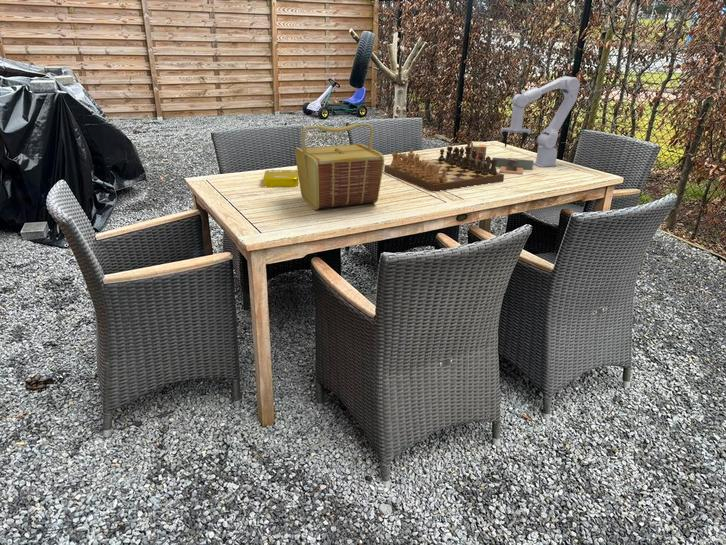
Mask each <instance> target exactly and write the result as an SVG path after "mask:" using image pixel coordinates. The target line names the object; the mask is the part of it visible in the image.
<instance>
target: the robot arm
mask: <svg viewBox="0 0 726 545" xmlns="http://www.w3.org/2000/svg"><path fill="white" fill-rule="evenodd" d="M580 87H581V84H580V80H579V79H578V78H577V77H574V76H568V75H563V76H561V77H558V78H556V79H555V80H551V81H550V82H548V83H546V84H544V85H542V86H540V87H537V86H532V87H530V89H528V90H526V91H521V94H520V93H517V94H514V96H513V97H512V99H511V104H512V110H511V111H512V112H511V118H510V125H509V127H500V133H502V137H503V140H504V148H506V147H507V145H508V143H507V141H508V134H509V133H514V134H522V136H521V137H522V138H521V141H520V143H521V144H520V148H521V149H522V148H523V145H524V143H525V141H526V139H527V137H528V135H531V131H532V129H530V128H523V123H524V115H525V108H526V106H527V105H528V104H530V103H531V102H534V101H536V100H538V99H540V98H541V96H542V95H544V94H546V93H548V92H551V91H554V90H557V89H560V90H561V91H562V94H563V97H564V98H563V100H562V102H561V104H560V105H559V108H558V109H557V111H556V113H555V115H553V118H552V120H551V121H550V123H549V125H548V126H547V127H546V128H545V129H543V131H542V132H541V133H540V134H539V135H538V136H537V138H536V142H537V144H538V147H537V153H536V157H535V162H534V161H533V165H535V166H536V167H537V166H538V167H543V168H544V167H556V166H557V165H556V162H557V157H558V150H557V149H556V147H555V146H556V144H557V139H559V138H558V137H559V131H560V129H561V127H562V126H563V123H564V122H565V120H566V118H568V115H569V113H570V111H572V108H573V107H574V105H575V103H576V102H577V99H578V95H579V94H578V93H579V89H580Z"/></svg>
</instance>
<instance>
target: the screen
mask: <svg viewBox="0 0 726 545" xmlns="http://www.w3.org/2000/svg"><path fill="white" fill-rule="evenodd" d="M508 158H509V157H507V158H506V157H495V156H494V157H492V158H491V160H497V164H496V168H500V167H501V166H504V167H507V159H508ZM517 159H518V164H517V168H523V170H529V171H533V168H534V167H533V166H534V164H533V163H534V160H533V159H519V158H517Z"/></svg>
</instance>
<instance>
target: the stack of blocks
mask: <svg viewBox="0 0 726 545" xmlns="http://www.w3.org/2000/svg"><path fill="white" fill-rule="evenodd" d="M470 147H472V148H471V150H473V149H474V147H475V149H476V150H477V152H476V154H477V156H476V157H475V161H476V164H477V161H478V160H479V155H480V154H481V153H483V155H484V158H483V160H485V159H486V157H487V156H486V154H487V145H486V143H485V142H484V141H470ZM471 150H470V152H471V154H469V158H470V159H471V158H472V156H471V155H472V151H471ZM483 163H484V161H482V164H483ZM477 165H478V164H477Z"/></svg>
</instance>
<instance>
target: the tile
mask: <svg viewBox="0 0 726 545" xmlns="http://www.w3.org/2000/svg"><path fill="white" fill-rule="evenodd" d="M498 173H500V174H509V175H510V174H511V175H521V176H522V175H524V169H523V168H517V171H511V170H506V167H504V166H501V167H499V172H498Z"/></svg>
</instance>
